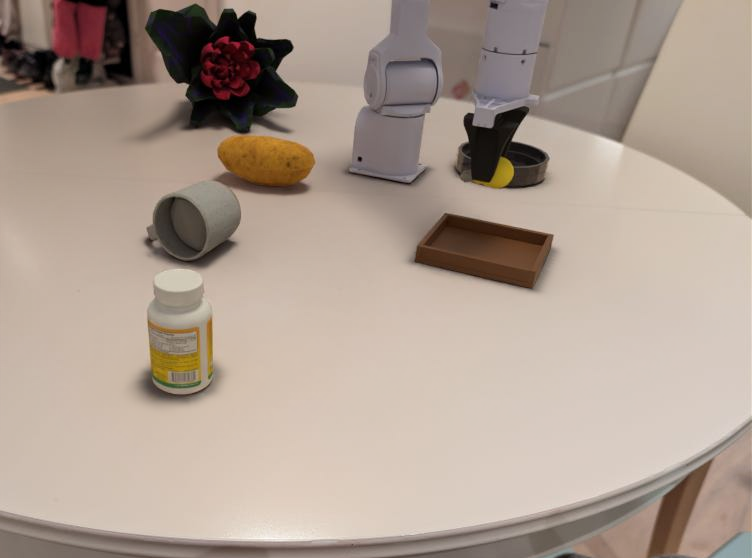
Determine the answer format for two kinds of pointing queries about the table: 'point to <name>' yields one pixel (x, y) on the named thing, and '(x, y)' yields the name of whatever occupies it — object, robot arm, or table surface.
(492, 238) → the tray
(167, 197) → the ceramic mug
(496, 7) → the robot arm
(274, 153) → the potato
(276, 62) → the decorative plant
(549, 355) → the table surface
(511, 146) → the pan
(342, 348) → the table surface
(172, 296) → the supplement bottle
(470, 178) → the light bulb
